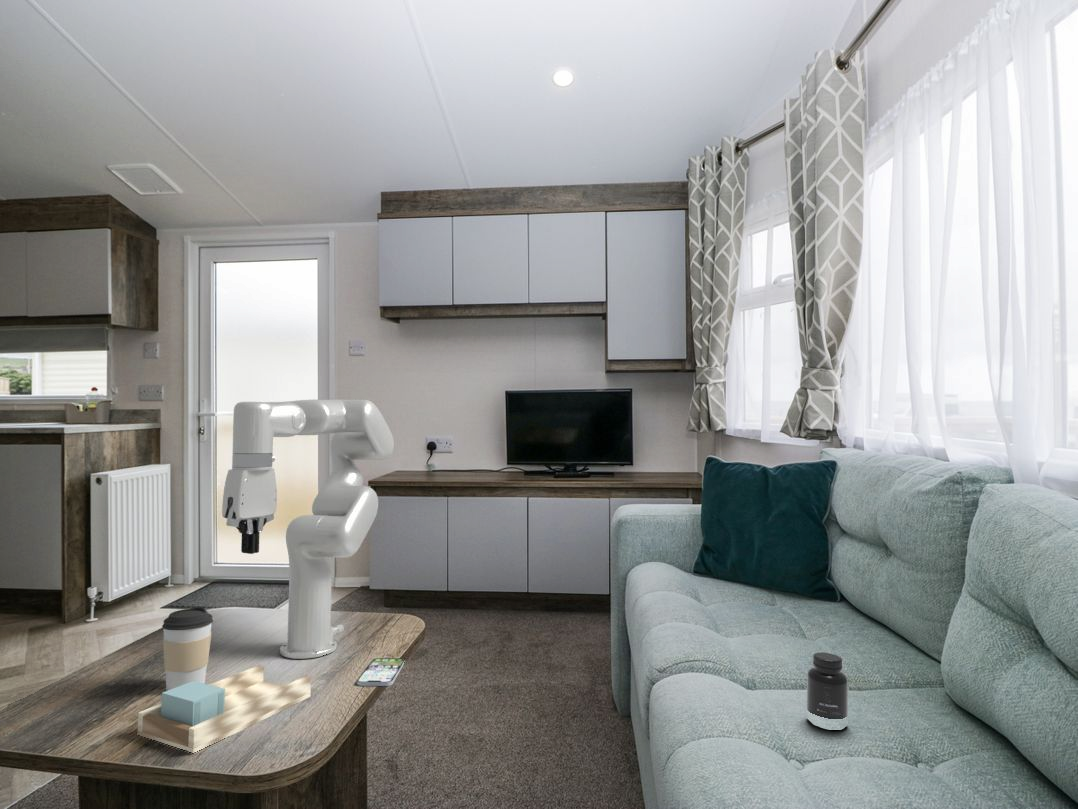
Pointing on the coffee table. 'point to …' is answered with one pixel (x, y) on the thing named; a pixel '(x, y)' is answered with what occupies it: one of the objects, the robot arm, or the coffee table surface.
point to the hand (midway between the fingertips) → (250, 552)
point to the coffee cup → (186, 646)
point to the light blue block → (192, 703)
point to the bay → (227, 710)
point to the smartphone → (381, 672)
